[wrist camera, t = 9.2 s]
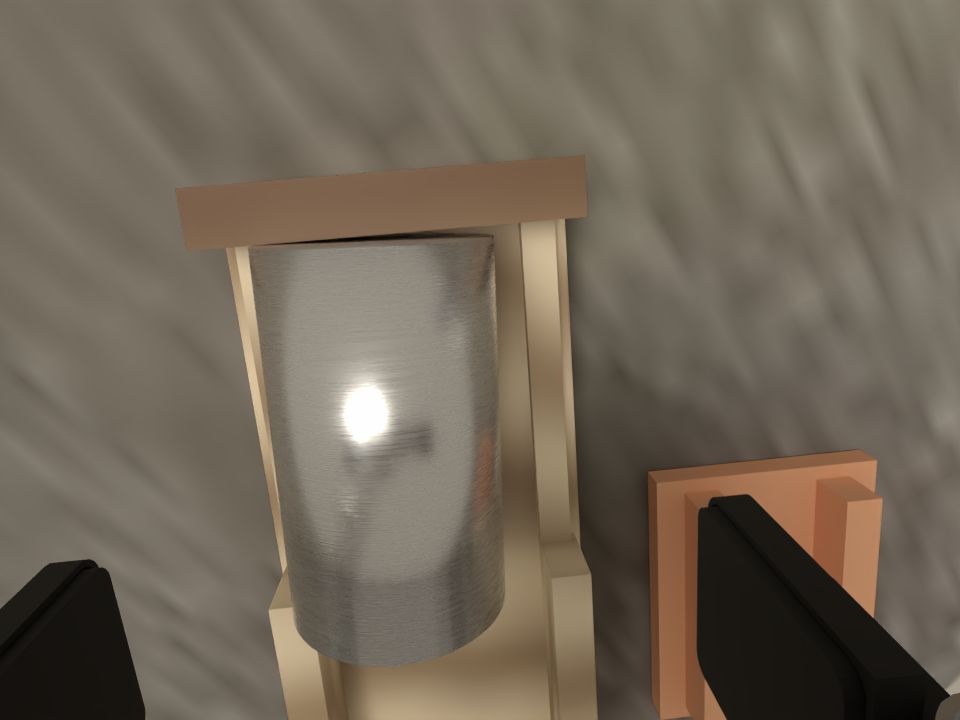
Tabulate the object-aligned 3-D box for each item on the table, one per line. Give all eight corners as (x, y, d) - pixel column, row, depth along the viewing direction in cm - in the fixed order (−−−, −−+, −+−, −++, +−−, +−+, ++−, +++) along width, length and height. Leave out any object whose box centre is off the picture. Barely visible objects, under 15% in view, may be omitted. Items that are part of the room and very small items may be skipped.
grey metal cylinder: (510, 541, 21) (498, 671, 15) (333, 538, 22) (256, 662, 16) (501, 230, 19) (482, 245, 13) (301, 237, 19) (197, 254, 14)
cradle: (844, 677, 26) (890, 732, 24) (652, 700, 26) (677, 758, 23) (859, 449, 24) (913, 481, 21) (647, 471, 24) (675, 506, 21)
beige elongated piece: (578, 709, 26) (611, 826, 21) (328, 739, 25) (303, 865, 21) (550, 166, 21) (584, 155, 16) (236, 191, 20) (175, 188, 16)
